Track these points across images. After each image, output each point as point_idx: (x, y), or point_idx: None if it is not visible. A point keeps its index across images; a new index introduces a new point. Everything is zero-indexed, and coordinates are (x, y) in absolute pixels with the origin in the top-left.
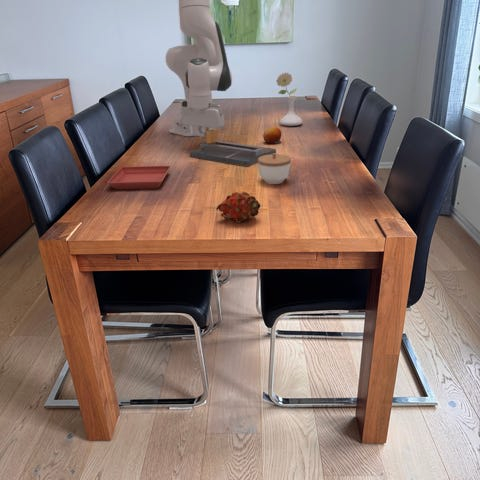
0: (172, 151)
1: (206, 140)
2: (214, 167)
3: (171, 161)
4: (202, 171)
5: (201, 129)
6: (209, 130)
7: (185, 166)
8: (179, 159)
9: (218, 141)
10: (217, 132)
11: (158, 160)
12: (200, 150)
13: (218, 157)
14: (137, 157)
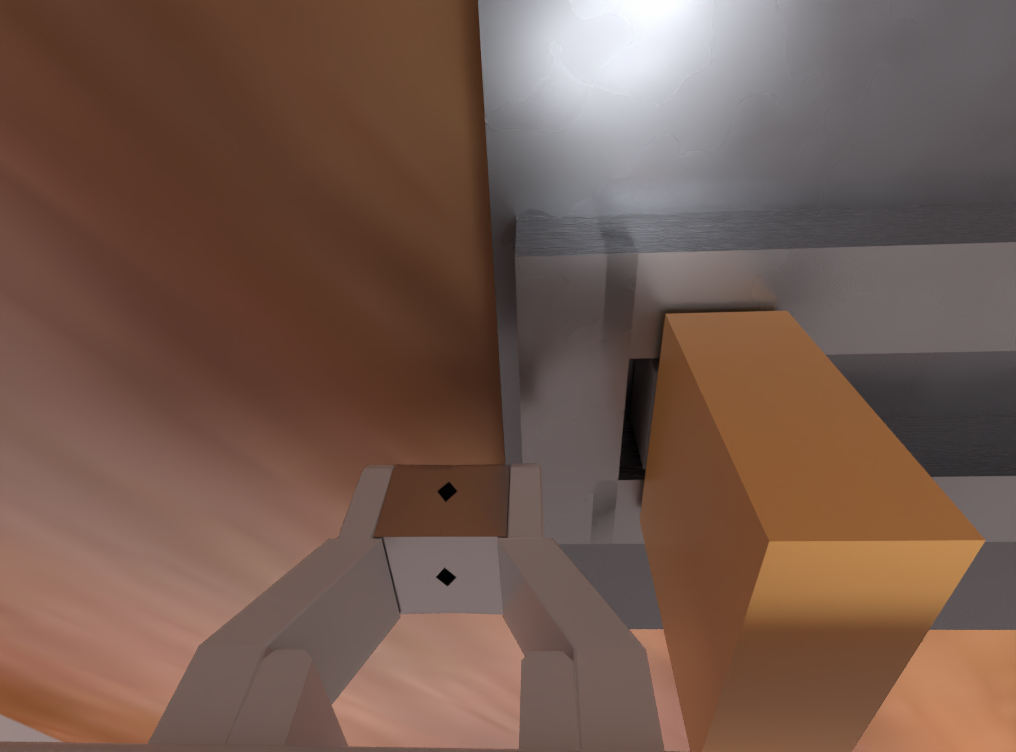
0: (159, 520)
1: (649, 561)
2: (956, 676)
3: (476, 697)
4: (888, 746)
5: (316, 611)
6: (751, 714)
7: (683, 726)
8: (491, 650)
9: (788, 298)
10: (905, 462)
11: (359, 713)
12: (601, 549)
13: (975, 621)
14: (142, 721)
